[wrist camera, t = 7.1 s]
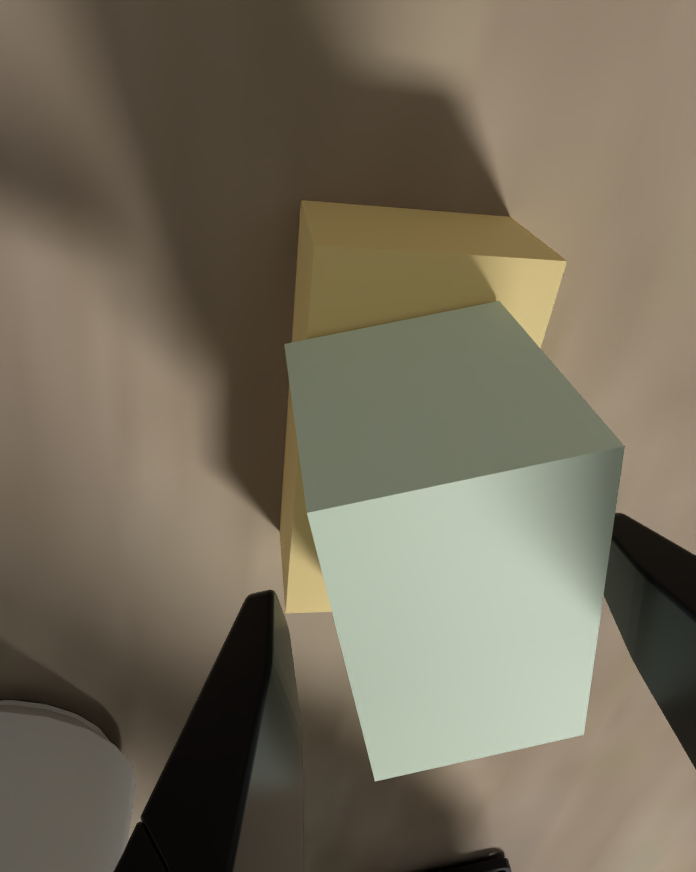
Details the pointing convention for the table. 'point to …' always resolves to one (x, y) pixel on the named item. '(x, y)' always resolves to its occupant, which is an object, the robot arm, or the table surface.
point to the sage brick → (456, 531)
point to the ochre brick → (397, 310)
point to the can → (60, 792)
